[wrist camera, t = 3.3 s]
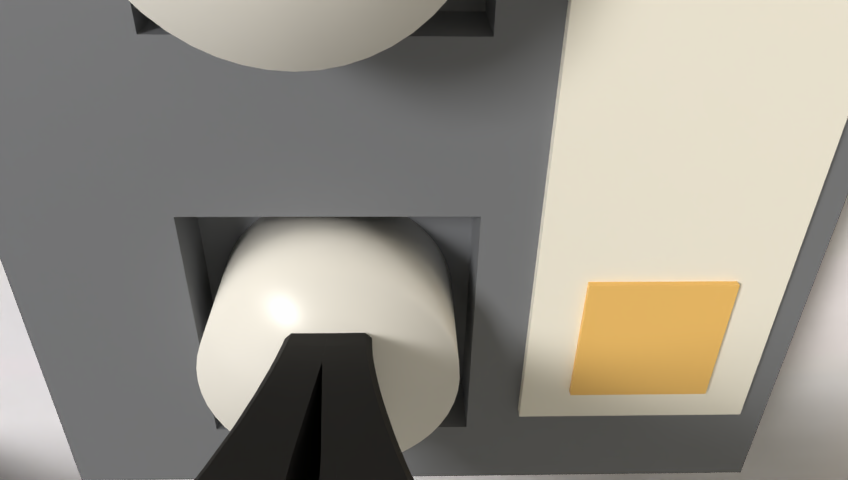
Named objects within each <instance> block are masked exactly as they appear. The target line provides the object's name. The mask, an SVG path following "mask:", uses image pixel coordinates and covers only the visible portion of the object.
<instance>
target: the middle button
mask: <svg viewBox="0 0 848 480" xmlns="http://www.w3.org/2000/svg"><path fill="white" fill-rule="evenodd" d="M129 1H130V2H131V3H132V4H133V5H134V6H135V7H136V8H137V9H138V10H139V11H140V12H141V13H143V14H144V15H145V16H147V17H148V18H149V19H151V20H152V21H153V22H155V23H156V24H157V25H159V26H160V27H161V28H163V29H164V30H165V31H167V32H169V33H170V34H172V35H174V36H175V37H177V38H179V39H180V40H182V41H184V42H185V43H187V44H189V45H191V46H193V47H195V48H197V49H199V50H202V51H204V52H206V53H208V54H211V55H213V56H215V57H218V58H221V59H224V60H227V61H231V62H234V63H237V64H240V65H244V66H249V67H255V68H260V69H265V70H275V71H290V72H298V71H316V70H323V69H329V68H334V67H339V66H345V65H348V64H351V63H354V62H357V61H360V60H363V59H366V58H369V57H371V56H373V55H375V54H377V53H379V52H382V51H384V50H386V49H388V48H390V47H392V46H393V45H395V44H397V43H398V42H400V41H401V40H403V39H404V38H406V37H407V36H409V35H410V34H412V33H413V32H415V31H416V30H417V29H418V28H419V27H420V26H422V25H423V24H424V23H425V22H426V21H428V20H429V19H430V18H431V17H432V16H433V15H434V14H435V13H436V12H437V11H438V10H439V9H440V8H441V7H442V5H443V4H444V3H445V2H446V1H447V0H129Z"/></svg>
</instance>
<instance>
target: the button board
mask: <svg viewBox="0 0 848 480" xmlns="http://www.w3.org/2000/svg"><path fill="white" fill-rule="evenodd" d="M847 195H848V0H447V1H446V2H445V3H444V4H443V5H442V7H441V8H440V9H439V10H438V11H437V12H436V13H435V14H434V15H433V16H432V17H431V18H430V19H429V20H428V21H426V22H425V23H424V24H423V25H422V26H420V27H419V28H418V29H417V30H416V31H415V32H413V33H412V34H410V35H409V36H407V37H406V38H404V39H403V40H401V41H400V42H398V43H397V44H395V45H393V46H392V47H390V48H388V49H386V50H384V51H382V52H379V53H377V54H375V55H373V56H371V57H369V58H366V59H363V60H360V61H357V62H354V63H351V64H348V65H345V66H339V67H334V68H329V69H323V70H316V71H298V72H290V71H275V70H265V69H260V68H255V67H249V66H244V65H240V64H237V63H234V62H231V61H227V60H224V59H221V58H218V57H215V56H213V55H211V54H208V53H206V52H204V51H202V50H199V49H197V48H195V47H193V46H191V45H189V44H187V43H185V42H184V41H182V40H180V39H179V38H177V37H175V36H174V35H172V34H170V33H169V32H167V31H165V30H164V29H163V28H161V27H160V26H159V25H157V24H156V23H155V22H153V21H152V20H151V19H149V18H148V17H147V16H145V15H144V14H143V13H141V12H140V11H139V10H138V9H137V8H136V7H135V6H134V5H133V4H132V3H131V2H130V1H129V0H0V259H1V262H2V265H3V267H4V270H5V273H6V275H7V278H8V281H9V284H10V286H11V289H12V292H13V294H14V297H15V300H16V303H17V305H18V308H19V311H20V313H21V316H22V319H23V322H24V324H25V327H26V330H27V332H28V335H29V338H30V340H31V343H32V346H33V349H34V351H35V354H36V357H37V359H38V362H39V365H40V368H41V370H42V373H43V376H44V378H45V381H46V384H47V387H48V389H49V392H50V395H51V397H52V400H53V403H54V406H55V408H56V411H57V414H58V416H59V419H60V422H61V424H62V427H63V430H64V433H65V435H66V438H67V441H68V443H69V446H70V449H71V452H72V454H73V457H74V460H75V462H76V465H77V468H78V471H79V473H80V476H81V479H82V480H157V479H195V478H196V477H197V476H198V474H199V473H200V472H201V470H202V469H203V468H204V467H205V465H206V464H207V462H208V461H209V460H210V458H211V457H212V456H213V454H214V453H215V452H216V450H217V449H218V447H219V446H220V445H221V443H222V442H223V441H224V439H225V438H226V437H227V435H228V434H229V432H230V431H229V430H228V429H227V428H226V427H224V426H223V424H222V423H221V422H220V421H219V420H218V419H217V418H216V417H215V416H214V414H213V413H212V411H211V410H210V408H209V407H208V406H207V404H206V402H205V400H204V398H203V395H202V393H201V390H200V387H199V384H198V379H197V370H196V365H197V354H198V350H199V346H200V343H201V340H202V337H203V334H204V331H205V328H206V325H207V322H208V319H209V316H210V313H211V310H212V307H213V304H214V301H215V297H216V294H217V291H218V288H219V285H220V282H221V279H222V276H223V273H224V270H225V267H226V264H227V261H228V258H229V256H230V254H231V252H232V249H233V247H234V246H235V244H236V243H237V241H238V239H239V238H240V236H241V235H242V234H243V233H244V232H245V231H246V230H247V229H248V228H249V226H251V225H252V224H253V223H254V222H256V221H257V220H258V219H259V218H260V217H408V218H410V219H411V220H412V221H414V222H415V223H416V224H418V225H419V226H420V227H421V228H422V229H423V230H424V231H425V232H426V233H427V234H428V235H429V236H430V237H431V238H432V239H433V241H434V242H435V243H436V245H437V246H438V247H439V249H440V251H441V253H442V255H443V256H444V258H445V261H446V264H447V266H448V269H449V274H450V279H451V287H452V297H453V307H454V318H455V328H456V338H457V348H458V358H459V373H460V380H459V387H458V392H457V395H456V398H455V401H454V404H453V406H452V408H451V409H450V411H449V413H448V415H447V416H446V417H445V419H444V420H443V421H442V423H441V424H440V425H439V426H438V427H437V428H436V429H435V430H434V431H433V432H432V433H431V434H430V435H429V436H427V437H426V438H425V439H423V440H422V441H421V442H419V443H418V444H416V445H414V446H413V447H411V448H409V449H407V450H405V451H403V452H402V454H403V456H404V459H405V461H406V463H407V466H408V468H409V470H410V473H411V475H412V476H471V475H550V474H628V473H707V472H741V469H742V467H743V464H744V462H745V459H746V456H747V454H748V451H749V449H750V446H751V443H752V441H753V438H754V436H755V433H756V430H757V428H758V425H759V423H760V420H761V418H762V415H763V412H764V410H765V407H766V405H767V402H768V399H769V397H770V394H771V392H772V389H773V386H774V384H775V381H776V379H777V376H778V374H779V371H780V368H781V366H782V363H783V361H784V358H785V355H786V353H787V350H788V348H789V345H790V342H791V340H792V337H793V335H794V332H795V330H796V327H797V324H798V322H799V319H800V317H801V314H802V311H803V309H804V306H805V304H806V301H807V298H808V296H809V293H810V291H811V288H812V286H813V283H814V280H815V278H816V275H817V273H818V270H819V267H820V265H821V262H822V260H823V257H824V255H825V252H826V249H827V247H828V244H829V242H830V239H831V236H832V234H833V231H834V229H835V226H836V223H837V221H838V218H839V216H840V213H841V211H842V208H843V205H844V203H845V200H846V198H847Z"/></svg>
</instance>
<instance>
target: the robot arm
mask: <svg viewBox="0 0 848 480" xmlns="http://www.w3.org/2000/svg"><path fill="white" fill-rule="evenodd" d="M194 480H414V479H413V477H412V475H411V473H410V470H409V468H408V466H407V463H406V461H405V459H404V456H403V454H402V452H401V449H400V447H399V444H398V442H397V439H396V436H395V434H394V431H393V428H392V425H391V422H390V419H389V416H388V414H387V411H386V408H385V405H384V402H383V398H382V395H381V391H380V387H379V383H378V379H377V375H376V371H375V365H374V360H373V350H372V338H371V337H370V336H369V335H368V334H366V333H291V334H290V335H289V336H287V337H286V338H285V339H284V342H283V344H282V346H281V348H280V350H279V352H278V354H277V356H276V358H275V360H274V361H273V363H272V365H271V367H270V369H269V371H268V372H267V374H266V376H265V377H264V379H263V381H262V383H261V384H260V386H259V388H258V389H257V391H256V393H255V394H254V396H253V397H252V399H251V400H250V402H249V403H248V405H247V407H246V408H245V410H244V411H243V413H242V414H241V416H240V417H239V419H238V421H237V422H236V424H235V425H234V427H233V428H232V429H231V431H230V432H229V434H228V435H227V437H226V438H225V439H224V441H223V442H222V443H221V445H220V446H219V447H218V449H217V450H216V452H215V453H214V454H213V456H212V457H211V458H210V460H209V461H208V462H207V464H206V465H205V467H204V468H203V469H202V470H201V472H200V473H199V474H198V476H197V477H196V478H195V479H194Z"/></svg>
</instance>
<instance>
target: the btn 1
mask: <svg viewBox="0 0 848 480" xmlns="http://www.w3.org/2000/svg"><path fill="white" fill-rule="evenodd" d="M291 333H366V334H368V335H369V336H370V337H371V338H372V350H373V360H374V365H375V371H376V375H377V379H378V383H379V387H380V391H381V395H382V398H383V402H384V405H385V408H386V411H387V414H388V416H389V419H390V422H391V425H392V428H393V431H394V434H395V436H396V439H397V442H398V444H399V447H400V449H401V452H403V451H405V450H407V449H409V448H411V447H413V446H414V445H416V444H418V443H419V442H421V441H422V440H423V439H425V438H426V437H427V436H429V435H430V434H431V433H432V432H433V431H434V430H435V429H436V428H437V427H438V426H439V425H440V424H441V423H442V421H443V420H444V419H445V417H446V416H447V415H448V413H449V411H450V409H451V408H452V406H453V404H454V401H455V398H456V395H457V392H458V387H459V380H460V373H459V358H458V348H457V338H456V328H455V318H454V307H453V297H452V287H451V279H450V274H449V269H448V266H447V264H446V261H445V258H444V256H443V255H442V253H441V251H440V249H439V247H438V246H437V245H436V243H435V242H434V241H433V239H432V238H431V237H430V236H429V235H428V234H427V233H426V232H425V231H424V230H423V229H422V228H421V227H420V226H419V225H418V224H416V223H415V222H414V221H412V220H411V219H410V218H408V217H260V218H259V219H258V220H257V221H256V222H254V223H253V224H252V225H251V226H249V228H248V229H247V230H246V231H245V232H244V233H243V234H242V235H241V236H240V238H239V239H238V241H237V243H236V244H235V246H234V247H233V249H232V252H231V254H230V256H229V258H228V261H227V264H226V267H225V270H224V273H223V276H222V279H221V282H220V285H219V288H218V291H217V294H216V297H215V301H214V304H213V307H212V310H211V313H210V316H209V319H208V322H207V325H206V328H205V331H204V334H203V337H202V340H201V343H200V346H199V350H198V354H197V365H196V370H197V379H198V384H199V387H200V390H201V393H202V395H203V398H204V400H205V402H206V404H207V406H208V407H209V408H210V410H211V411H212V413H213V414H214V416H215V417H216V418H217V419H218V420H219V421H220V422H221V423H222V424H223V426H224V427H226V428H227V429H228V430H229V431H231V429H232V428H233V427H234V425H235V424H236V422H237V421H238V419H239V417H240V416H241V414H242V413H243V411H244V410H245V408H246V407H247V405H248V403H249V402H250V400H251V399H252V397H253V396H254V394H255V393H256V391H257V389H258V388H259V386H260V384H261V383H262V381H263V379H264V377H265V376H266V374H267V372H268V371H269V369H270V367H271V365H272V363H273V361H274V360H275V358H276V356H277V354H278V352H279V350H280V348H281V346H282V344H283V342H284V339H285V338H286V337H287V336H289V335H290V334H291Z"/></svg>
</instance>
